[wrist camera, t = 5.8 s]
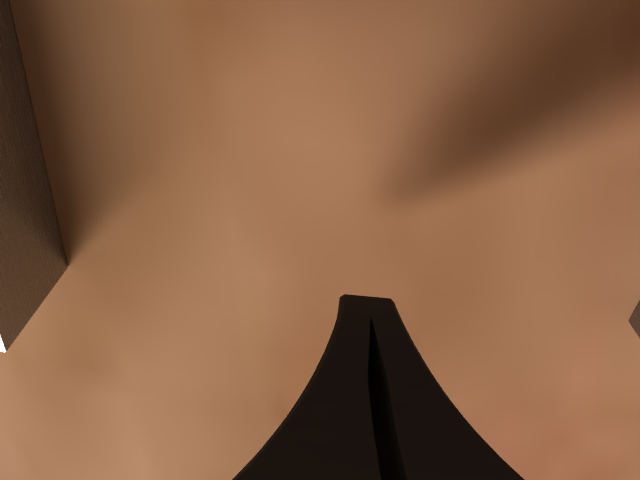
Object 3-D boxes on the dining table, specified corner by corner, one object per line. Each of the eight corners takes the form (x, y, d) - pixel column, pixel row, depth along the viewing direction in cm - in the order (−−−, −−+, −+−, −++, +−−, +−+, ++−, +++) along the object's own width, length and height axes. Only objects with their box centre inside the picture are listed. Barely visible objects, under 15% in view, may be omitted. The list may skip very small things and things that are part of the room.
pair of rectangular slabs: (898, -64, 12) (1110, -46, 9) (661, 324, 19) (730, 418, 15) (-83, -171, 12) (-254, -195, 8) (32, 264, 18) (-37, 348, 15)
